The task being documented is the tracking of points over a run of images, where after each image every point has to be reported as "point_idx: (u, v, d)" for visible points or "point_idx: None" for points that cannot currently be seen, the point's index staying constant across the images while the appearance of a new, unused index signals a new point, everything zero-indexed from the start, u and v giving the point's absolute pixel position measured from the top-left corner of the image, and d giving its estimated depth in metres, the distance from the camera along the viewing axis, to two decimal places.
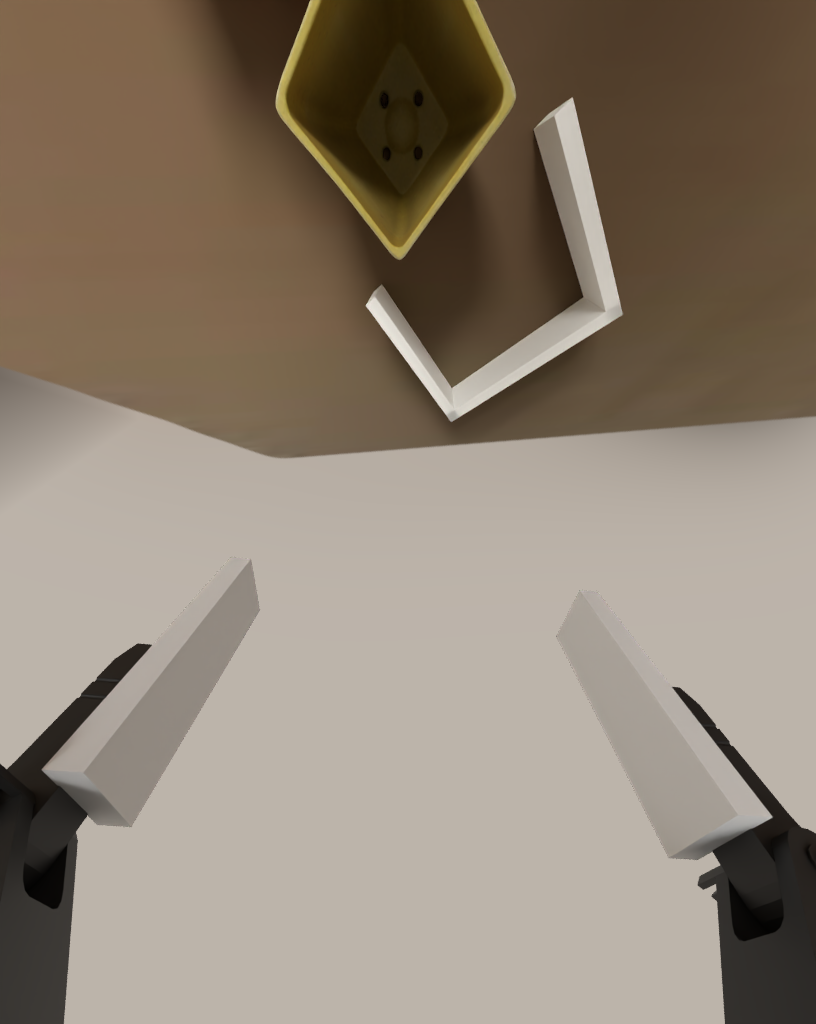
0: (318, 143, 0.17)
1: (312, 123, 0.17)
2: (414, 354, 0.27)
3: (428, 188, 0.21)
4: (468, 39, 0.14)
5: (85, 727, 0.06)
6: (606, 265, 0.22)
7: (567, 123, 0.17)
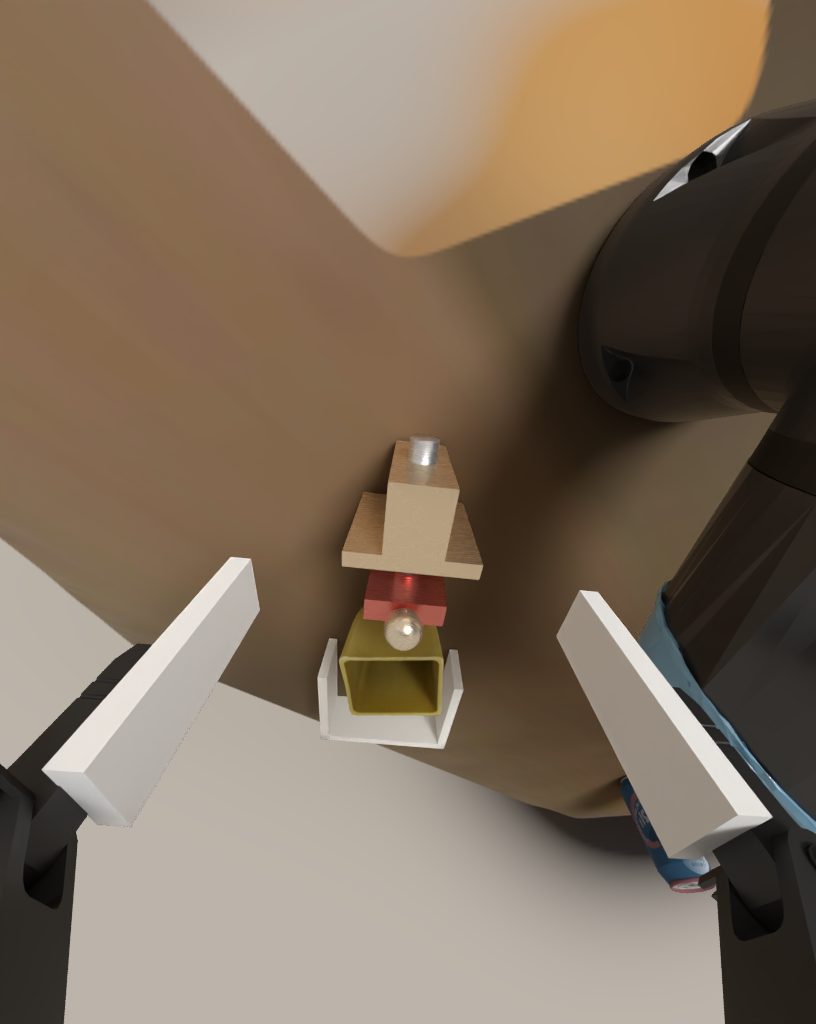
0: None
1: None
2: (326, 705, 0.35)
3: None
4: (435, 678, 0.28)
5: (85, 727, 0.06)
6: (446, 732, 0.37)
7: (457, 693, 0.33)
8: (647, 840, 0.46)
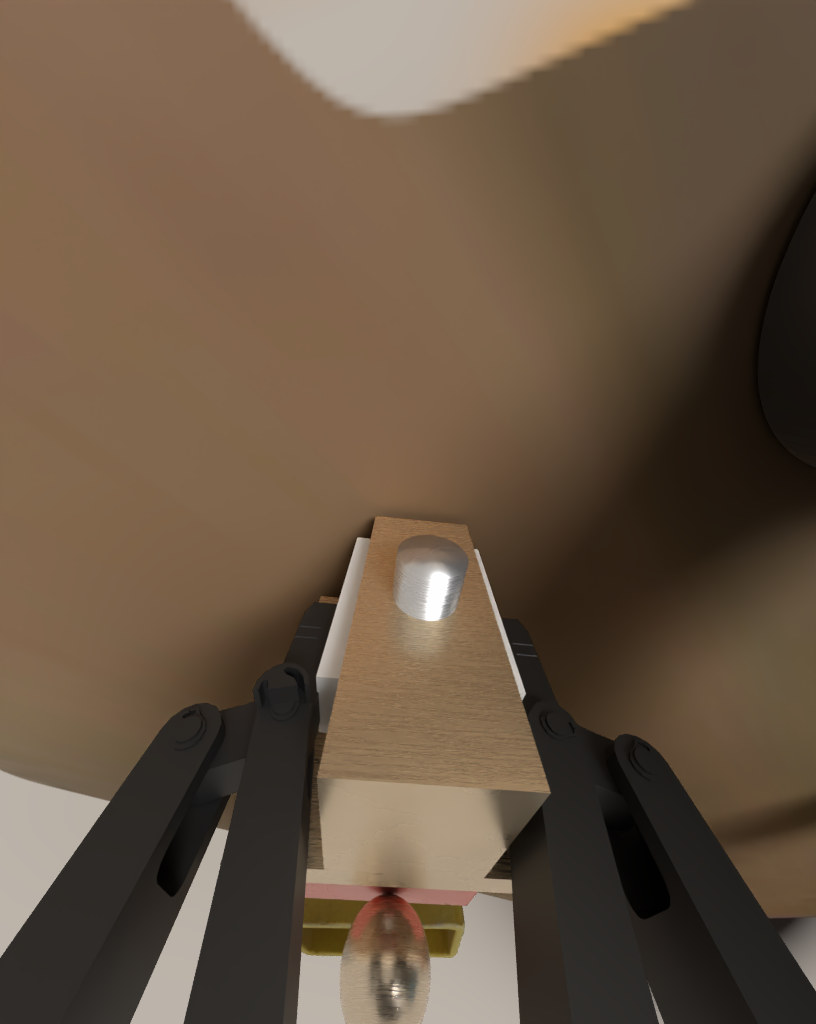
0: None
1: None
2: None
3: None
4: None
5: (328, 652, 0.08)
6: None
7: None
8: None
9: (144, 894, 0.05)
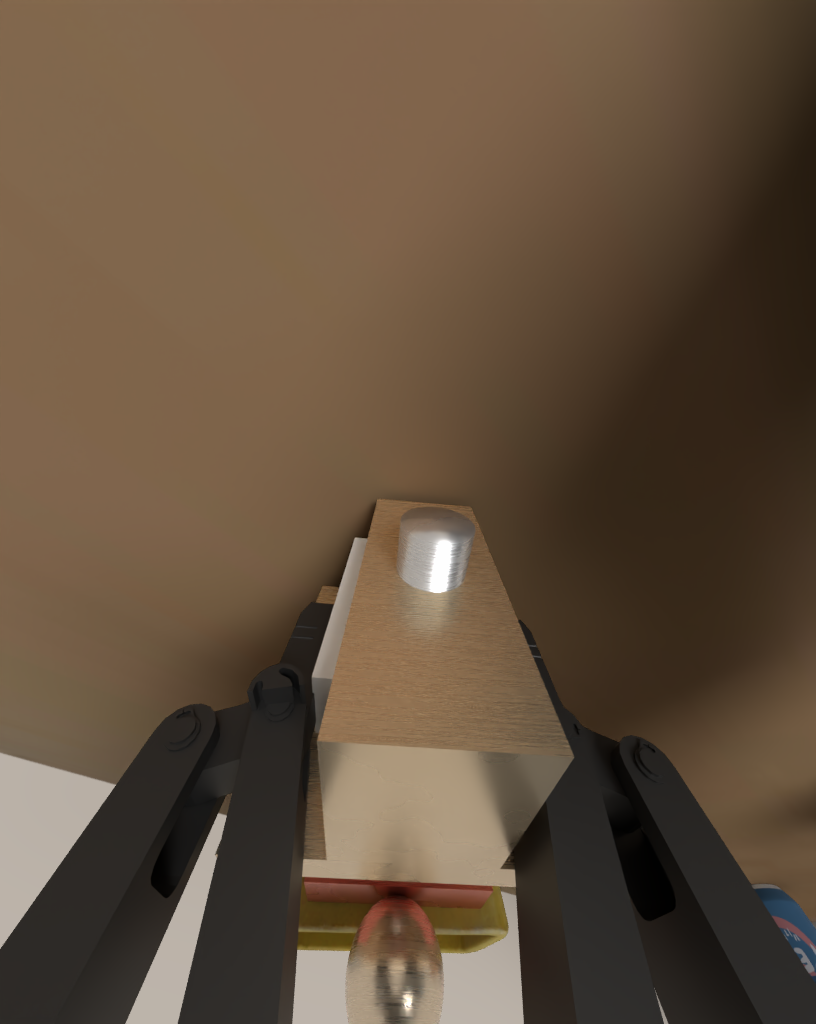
0: None
1: None
2: None
3: None
4: None
5: (324, 652, 0.08)
6: None
7: None
8: None
9: (138, 896, 0.05)
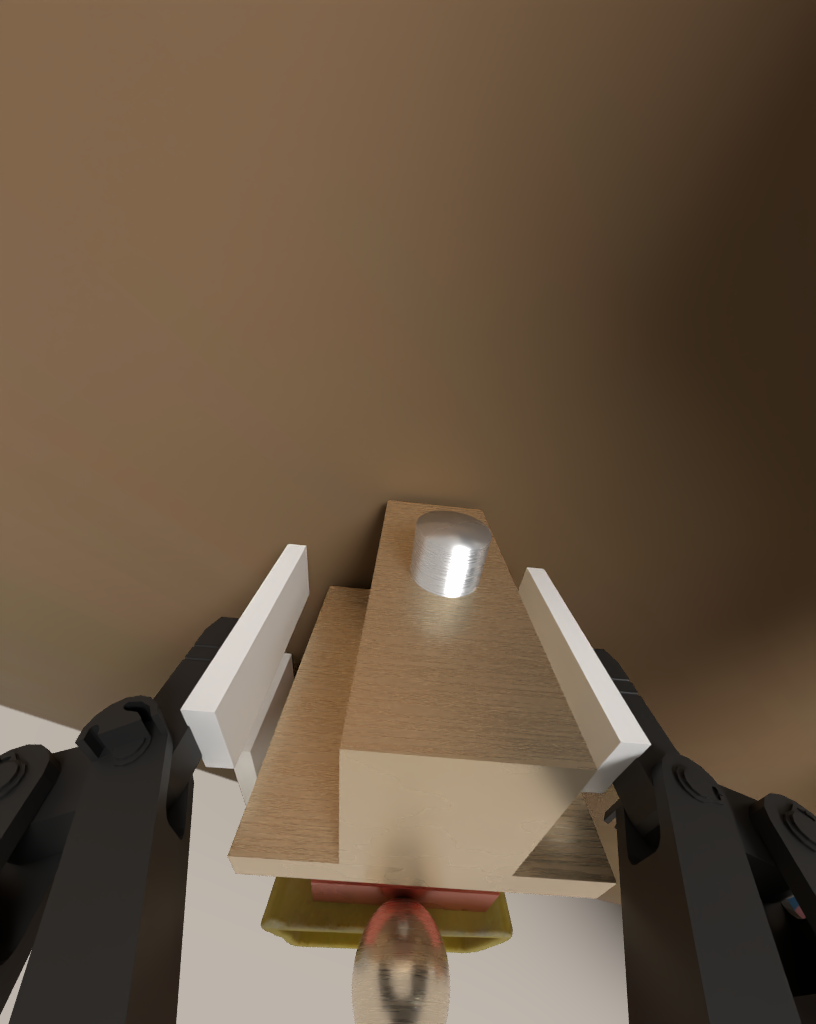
0: None
1: None
2: None
3: None
4: None
5: (205, 679, 0.07)
6: None
7: None
8: None
9: None
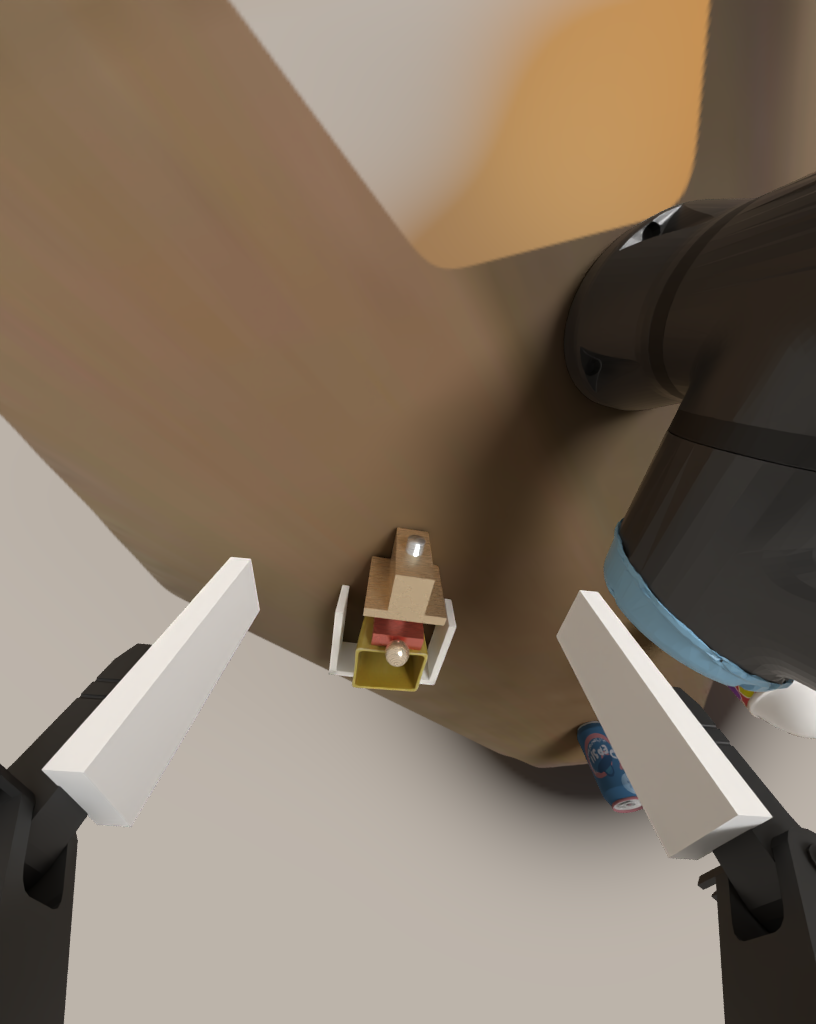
0: None
1: None
2: (339, 640, 0.40)
3: None
4: (416, 666, 0.40)
5: (85, 727, 0.06)
6: (438, 668, 0.44)
7: (451, 630, 0.40)
8: (596, 772, 0.55)
9: None
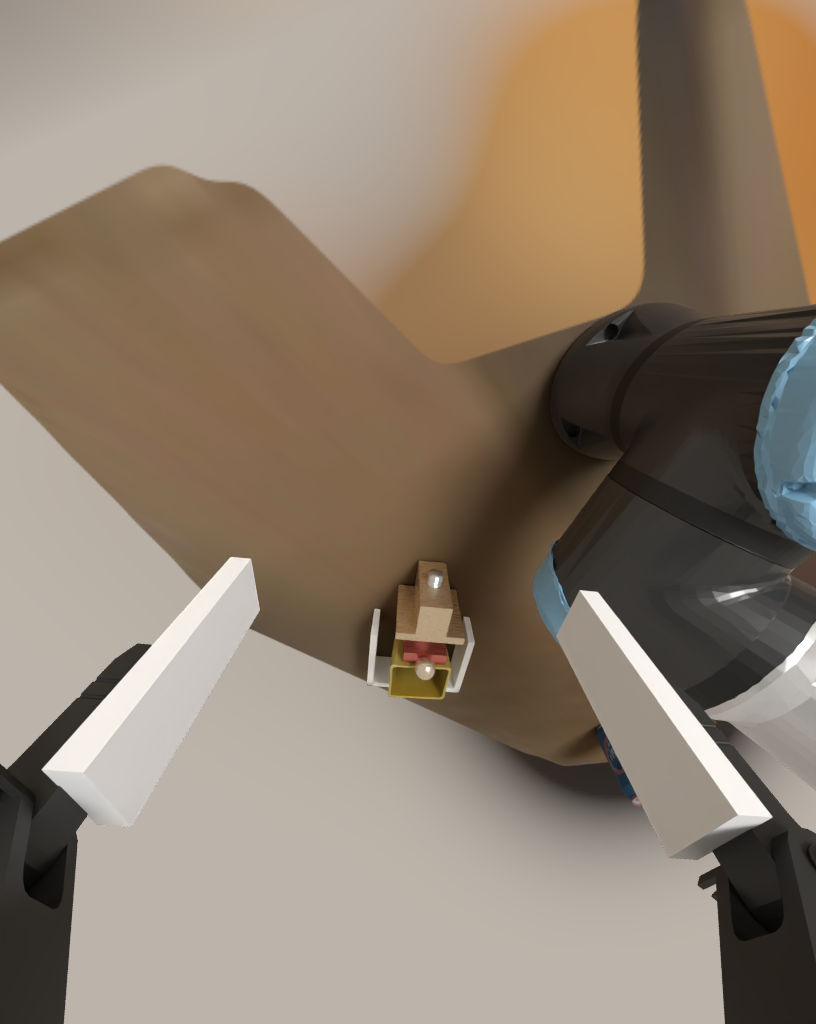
0: None
1: None
2: (374, 656, 0.47)
3: None
4: (442, 677, 0.46)
5: (85, 727, 0.06)
6: (461, 678, 0.50)
7: (470, 645, 0.46)
8: (615, 769, 0.59)
9: None
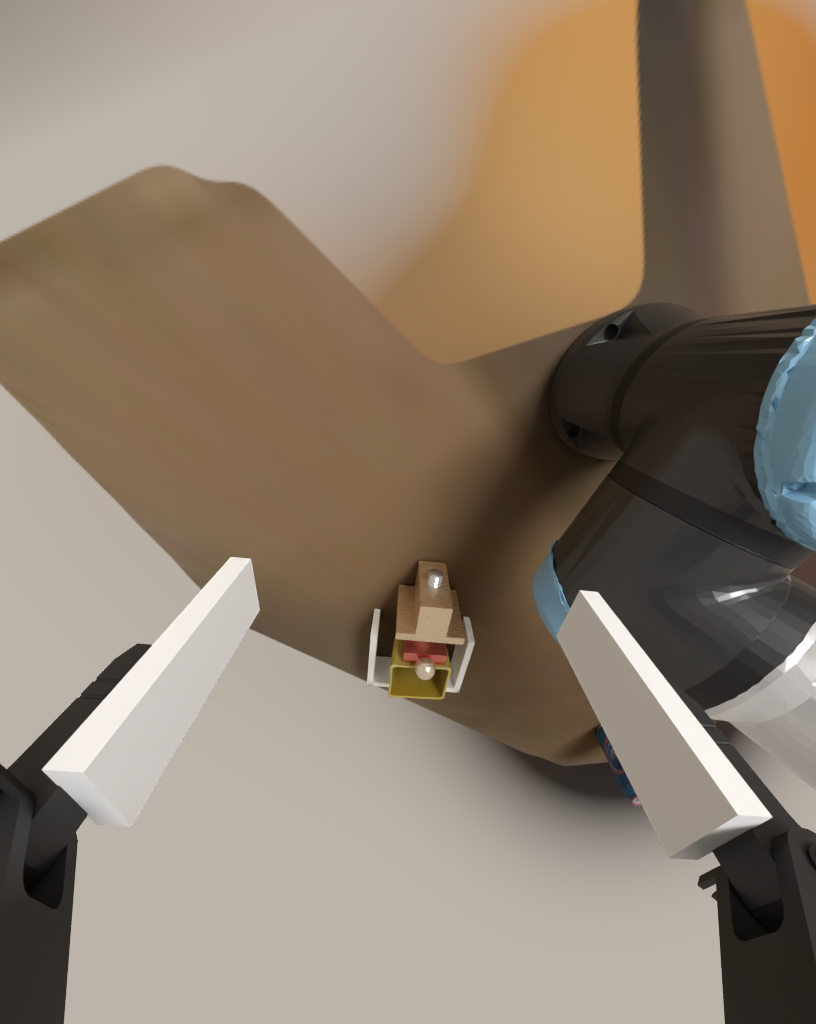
0: None
1: None
2: (374, 656, 0.47)
3: None
4: (442, 677, 0.46)
5: (85, 727, 0.06)
6: (461, 678, 0.50)
7: (470, 645, 0.46)
8: (615, 769, 0.59)
9: None
